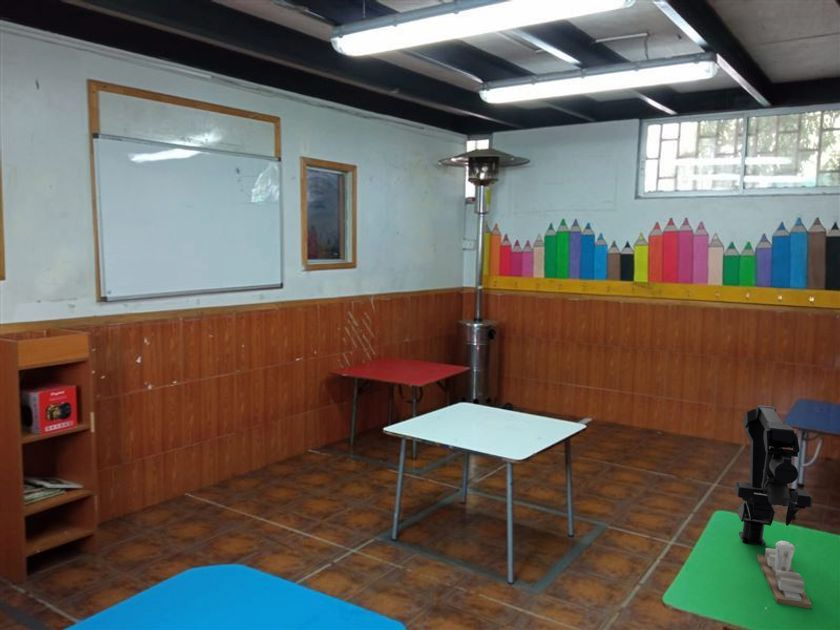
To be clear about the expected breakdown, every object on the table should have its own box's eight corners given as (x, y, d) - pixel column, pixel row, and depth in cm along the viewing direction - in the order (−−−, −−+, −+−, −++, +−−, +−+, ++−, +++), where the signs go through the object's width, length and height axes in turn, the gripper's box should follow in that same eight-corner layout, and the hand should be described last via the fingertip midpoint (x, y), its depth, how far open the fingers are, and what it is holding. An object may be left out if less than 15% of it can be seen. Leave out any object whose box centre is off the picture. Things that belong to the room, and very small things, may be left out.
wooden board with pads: (756, 557, 197) (758, 541, 196) (786, 562, 195) (789, 546, 194) (776, 602, 174) (778, 584, 173) (811, 608, 172) (813, 590, 171)
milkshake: (788, 581, 181) (793, 546, 179) (769, 572, 185) (773, 538, 184) (797, 576, 183) (802, 542, 182) (777, 567, 188) (782, 534, 186)
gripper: (745, 475, 183) (738, 529, 185) (821, 485, 178) (814, 541, 181) (737, 461, 194) (731, 512, 196) (809, 470, 189) (802, 523, 191)
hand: (768, 522), depth 191 cm, fingers open, 9 cm apart
